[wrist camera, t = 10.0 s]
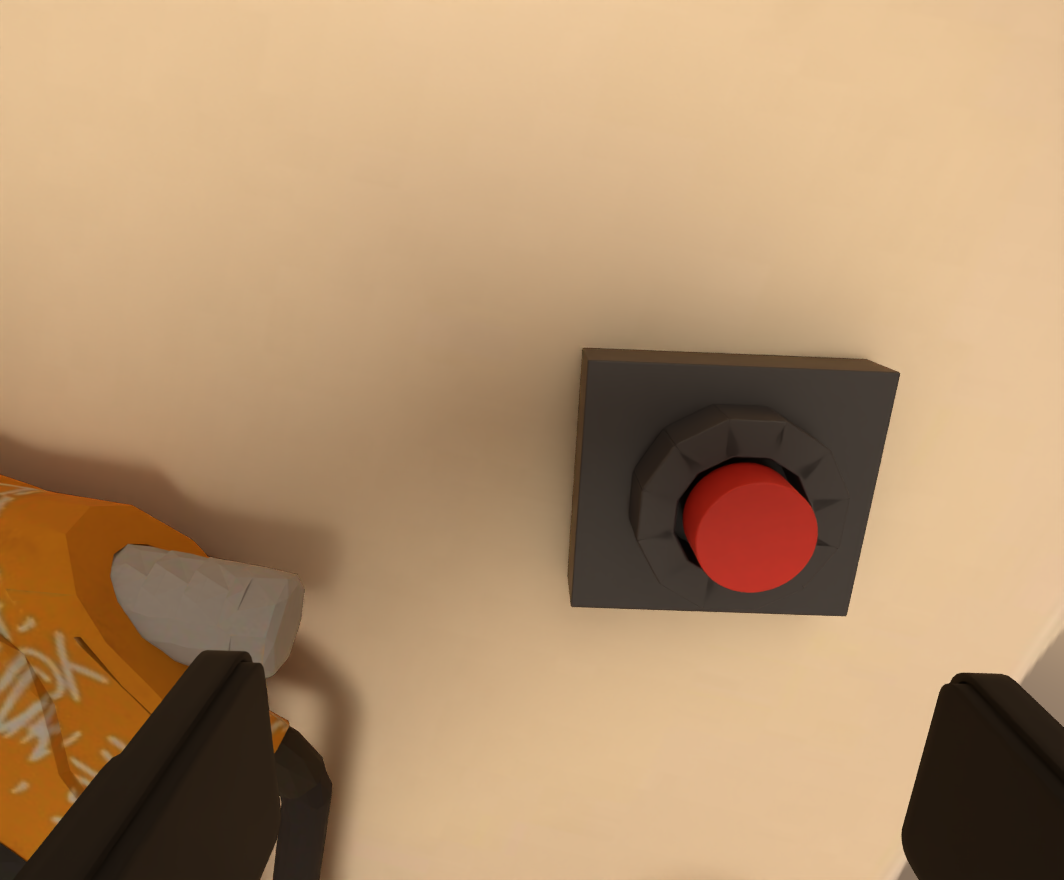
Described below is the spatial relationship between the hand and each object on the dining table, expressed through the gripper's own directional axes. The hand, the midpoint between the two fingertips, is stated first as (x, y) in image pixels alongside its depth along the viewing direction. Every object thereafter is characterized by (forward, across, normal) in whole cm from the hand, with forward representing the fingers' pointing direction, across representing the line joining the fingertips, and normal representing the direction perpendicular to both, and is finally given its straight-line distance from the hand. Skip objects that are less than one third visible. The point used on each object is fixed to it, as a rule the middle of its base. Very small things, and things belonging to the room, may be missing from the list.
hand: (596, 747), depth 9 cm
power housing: (+15, -6, +2) cm, 16 cm away
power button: (+12, -6, +2) cm, 13 cm away
